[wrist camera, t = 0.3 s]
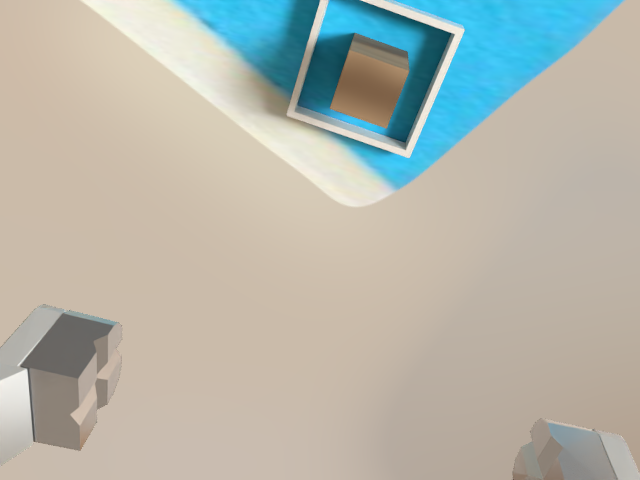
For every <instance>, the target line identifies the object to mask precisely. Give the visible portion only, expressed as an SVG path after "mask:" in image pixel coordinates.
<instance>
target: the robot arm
mask: <svg viewBox="0 0 640 480" xmlns="http://www.w3.org/2000/svg"><path fill="white" fill-rule="evenodd" d="M121 340H122V325H121V324H120V323H118V322H114V321H110V320H106V319H103V318H99V317H95V316H90V315H87V314H83V313H79V312H74V311H70V310H69V311H68V310H64V309H60V308H56V307H52V306H48V305H45V304H43V305H41V306H39V307H37V308H36V309H34V311H33V312H32V313H31V314H30V315H29V316H28V317H27V318H26V319H25V321H24V322H23V323H22V324H21V325H20V326H19V327H18V328H17V329H16V330H15V332H14V333H13V334H12V335H11V336H10V337H9V338H8V339H7V341H6V342H5V343H4V344H3V345H2V346H1V347H0V466H2V465H3V464H5V463H6V462H8V461H9V460H11V459H12V458H14V457H15V456H17V455H18V454H20V453H21V452H23V451H24V450H26V449H27V448H29V447H30V446H32V445H33V444H34V442H38V443H43V444H48V445H53V446H59V447H64V448H69V449H74V450H79V451H80V450H81V449H82V447H83V445H84V443H85V442H86V440H87V438H88V436H89V435H90V433H91V432H92V430H93V428H94V426H95V424H96V423H97V409H99V408H101V407H103V406H105V405H107V404H108V402H109V400H110V398H111V396H112V395H113V393H114V390H115V388H116V385H117V382H118V380H119V376H120V370H121V361H122V357H121V355H120V353H119V352H118V351H117V349H116V348H117V346H118V345H119V343H120V341H121ZM530 433H531V437H532V442H530V443H529V444H526V445H524V446H522V447H521V449H520V451H519V453H518V455H517V457H516V459H515V463H514V468H513V480H640V473H639V471H638V469H637V467H636V464H635V462H634V460H633V458H632V455H631V453H630V451H629V449H628V446H627V444H626V442H625V440H624V439H623V438H622V437H621V436H620V435H618V434H613V433H608V432H604V431H598V430H594V429H593V430H591V429H588V428H584V427H579V426H574V425H570V424H565V423H560V422H556V421H551V420H546V419H542V418H541V419H539V420H538V421H537V422H535V424H534V425H533V427H532V429H531V431H530Z"/></svg>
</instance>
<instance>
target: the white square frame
mask: <svg viewBox="0 0 640 480" xmlns="http://www.w3.org/2000/svg"><path fill="white" fill-rule="evenodd" d="M361 1H364V2H367V3H370V4H372V5H375V6H378V7H381V8H384V9H386V10H389V11H392V12H395V13H397V14H400V15H403V16H406V17H408V18H411V19H414V20H417V21H420V22H422V23H425V24H428V25H431V26H433V27H436V28H439V29H442V30H444V31H447V32H450V33H452V34H451V36H450V38H449V41H448V43H447V45H446V48H445V50H444V53H443V55H442V57H441V60H440V62H439V64H438V67H437V69H436V72H435V74H434V76H433V79H432V81H431V83H430V86H429V88H428V90H427V93H426V95H425V98H424V100H423V102H422V105H421V107H420V109H419V112H418V114H417V117H416V119H415V121H414V124H413V126H412V128H411V131H410V133H409V136H408V138H407V140H406V143H404V142H401V141H399V140H396V139H393V138H390V137H387V136H384V135H381V134H378V133H376V132H373V131H370V130H367V129H364V128H361V127H358V126H355V125H352V124H350V123H347V122H344V121H341V120H338V119H335V118H332V117H329V116H327V115H324V114H321V113H318V112H315V111H312V110H309V109H306V108H303V107H301V106H298V105H297V104H298V101H299V98H300V94H301V91H302V88H303V85H304V81H305V78H306V75H307V71H308V68H309V65H310V62H311V58H312V55H313V52H314V48H315V45H316V42H317V39H318V35H319V32H320V29H321V25H322V22H323V19H324V16H325V12H326V9H327V6H328V2H329V0H320V3H319V7H318V10H317V13H316V17H315V20H314V23H313V27H312V30H311V33H310V37H309V40H308V44H307V47H306V50H305V54H304V57H303V60H302V64H301V67H300V71H299V74H298V77H297V81H296V84H295V87H294V91H293V94H292V97H291V101H290V104H289V108H288V111H287V114H286V116H289V117H292V118H295V119H297V120H300V121H303V122H306V123H309V124H312V125H315V126H318V127H321V128H323V129H326V130H329V131H332V132H335V133H338V134H341V135H344V136H347V137H350V138H352V139H355V140H358V141H361V142H364V143H367V144H370V145H373V146H376V147H378V148H381V149H384V150H387V151H390V152H393V153H396V154H399V155H402V156H404V157H407V158H410V155H411V153H412V151H413V149H414V146H415V144H416V142H417V139H418V137H419V135H420V132H421V130H422V128H423V125H424V123H425V121H426V118H427V116H428V114H429V111H430V109H431V107H432V105H433V102H434V100H435V98H436V95H437V93H438V91H439V88H440V86H441V84H442V81H443V79H444V77H445V74H446V72H447V70H448V67H449V65H450V63H451V61H452V58H453V56H454V54H455V51H456V49H457V47H458V44H459V42H460V40H461V37H462V35H463V33H464V30H465V29H464V27H463V26H462V25H460V24H457V23H455V22H452V21H449V20H446V19H443V18H441V17H438V16H435V15H432V14H430V13H427V12H424V11H421V10H419V9H416V8H413V7H410V6H408V5H405V4H402V3H399V2H397V1H394V0H361Z"/></svg>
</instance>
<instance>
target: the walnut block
mask: <svg viewBox="0 0 640 480" xmlns="http://www.w3.org/2000/svg"><path fill="white" fill-rule="evenodd" d="M408 73H409V62H408V52H407V51H404V50H401V49H398V48H396V47H393V46H390V45H387V44H384V43H382V42H379V41H376V40H373V39H370V38H368V37H365V36H362V35H359V34H356V33H355V34H354V37H353V40H352V43H351V46H350V49H349V52H348V54H347V57H346V60H345V63H344V66H343V69H342V72H341V75H340V78H339V81H338V84H337V87H336V91H335V94H334V97H333V100H332V103H331V106H330V109H332V110H335V111H338V112H341V113H344V114H346V115H349V116H352V117H355V118H358V119H361V120H364V121H367V122H369V123H372V124H375V125H378V126H381V127H384V128H387V126H388V124H389V121H390V118H391V116H392V113H393V111H394V108H395V106H396V103H397V101H398V98H399V96H400V93H401V91H402V88H403V86H404V83H405V81H406V78H407V76H408Z"/></svg>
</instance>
